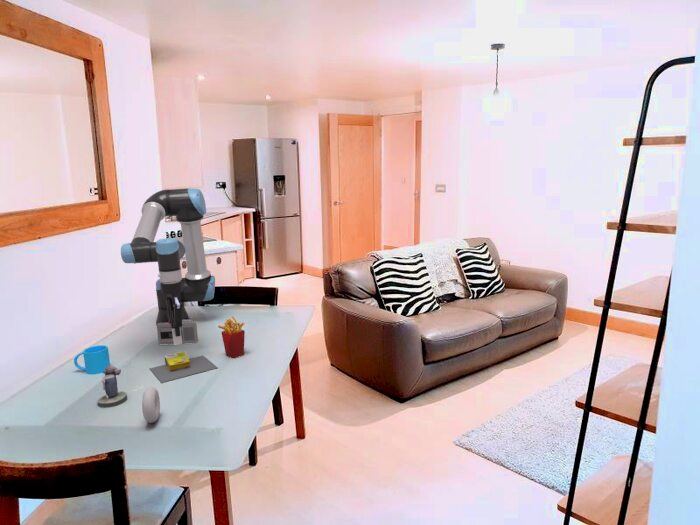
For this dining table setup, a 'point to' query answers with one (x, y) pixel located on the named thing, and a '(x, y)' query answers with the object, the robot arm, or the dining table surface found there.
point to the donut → (151, 405)
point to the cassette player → (187, 332)
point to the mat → (183, 369)
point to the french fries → (233, 338)
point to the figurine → (111, 389)
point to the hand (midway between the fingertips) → (177, 343)
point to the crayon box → (177, 361)
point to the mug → (94, 359)
